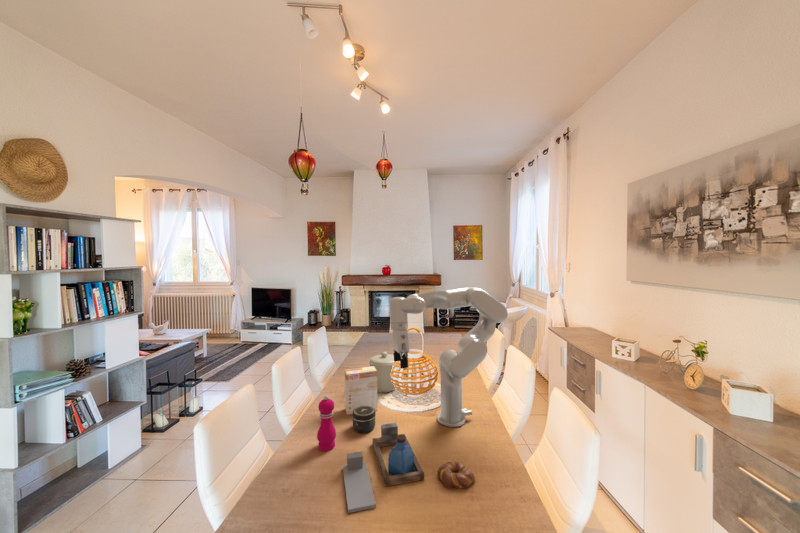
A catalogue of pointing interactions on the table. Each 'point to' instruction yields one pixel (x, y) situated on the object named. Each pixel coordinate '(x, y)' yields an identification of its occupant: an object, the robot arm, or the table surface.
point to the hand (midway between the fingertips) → (400, 364)
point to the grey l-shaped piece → (357, 484)
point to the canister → (383, 371)
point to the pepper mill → (326, 425)
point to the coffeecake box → (360, 388)
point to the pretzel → (455, 475)
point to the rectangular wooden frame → (386, 439)
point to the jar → (363, 419)
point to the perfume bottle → (400, 457)
